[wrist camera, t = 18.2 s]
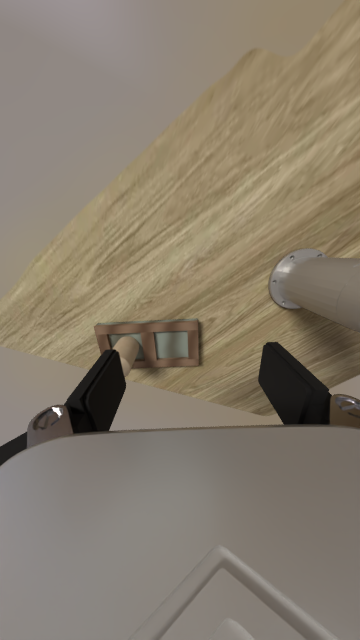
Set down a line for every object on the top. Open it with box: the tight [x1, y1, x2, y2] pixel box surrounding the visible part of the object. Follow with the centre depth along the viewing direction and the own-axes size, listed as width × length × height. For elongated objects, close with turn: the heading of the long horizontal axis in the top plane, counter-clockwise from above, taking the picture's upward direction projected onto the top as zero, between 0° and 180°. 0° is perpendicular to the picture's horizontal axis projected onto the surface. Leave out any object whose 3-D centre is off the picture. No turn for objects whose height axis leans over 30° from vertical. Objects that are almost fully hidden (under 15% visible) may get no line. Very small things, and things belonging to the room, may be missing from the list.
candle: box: [113, 336, 139, 377], centre depth 37 cm, size 6×6×10 cm
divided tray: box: [94, 319, 199, 368], centre depth 41 cm, size 24×12×3 cm, turn 93°
